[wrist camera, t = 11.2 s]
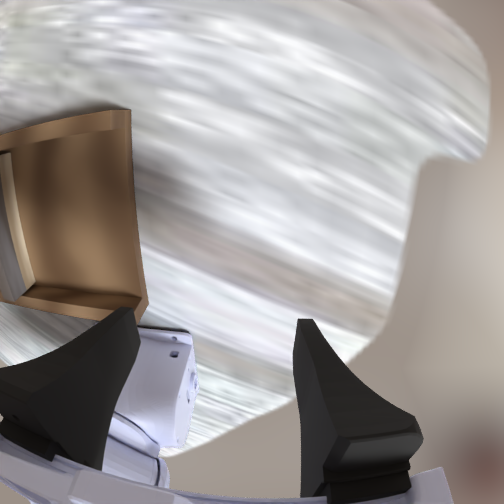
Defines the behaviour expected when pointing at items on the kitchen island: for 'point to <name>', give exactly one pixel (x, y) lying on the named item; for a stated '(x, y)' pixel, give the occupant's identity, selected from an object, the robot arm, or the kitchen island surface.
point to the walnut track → (79, 214)
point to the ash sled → (12, 239)
